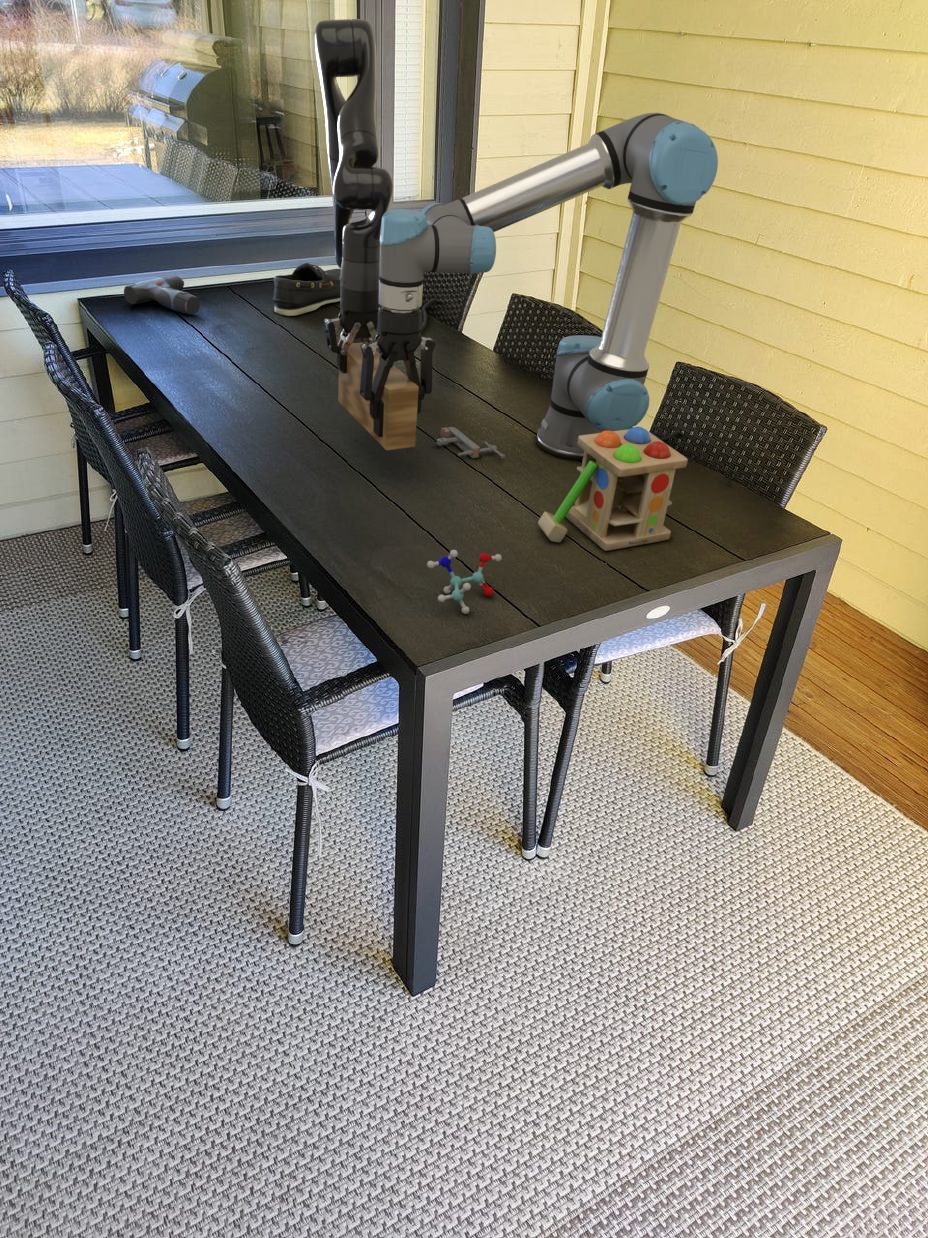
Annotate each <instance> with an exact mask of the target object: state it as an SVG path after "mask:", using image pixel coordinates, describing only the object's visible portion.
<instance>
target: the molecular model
mask: <svg viewBox="0 0 928 1238" xmlns="http://www.w3.org/2000/svg"><path fill="white" fill-rule="evenodd" d="M458 555H459V552H458V550H457V549H452V550H450V551H449V555H448V556H445V555H444V556H442V557H441V558H440V560H438V561H433V560H428V561H427V563H426V567H427V568H428V569H434V568H435V567H436V566H442V568H446V569H447V571H448V573H449V575H450V577H451V578H450V582H449V583H450V584H449V585H448V586H447V585H446V586H444V588H443V593H444V594H445V595H444V594H439V595H438V596H437V601H438V602H439V603H445V602H446V601H447V600H453V601H455V602H458V603H459V605H460V607H461V613H462V614H464V615H468V614H469V613H470V607H469V606H467V605H466V604H465V602H464V600H463V599H464V597H465V596H464V595H465V594H464V593H465V592H466V591H467V592H468V591H470V590H471V588H472V585H471V583H469V582H471V581H473V583H474V584H478V586H479V587H480V588H481V590H482V591H483V595H484V596H485V597H488V598H490V597H492V596H493V595H494V593H495V591H494V588H493V587H492V586H489V585H488V583H487V582H486V581H485V579H484V574H483V573H482V572H483V569H484V566H485V564H486V563H488V562H489V561H495V562H497V563H499V562H501V561H502V559H503V557H502V555H501V554H500V553H495V555H489V554H488V553H487V552H482V553H480V554H479V557H478V559H479V561H480V563H479V566H478V569H477V571H475V572H473V573H472V575H471V576H468V577H464V578H461V577H460V576H458V575H455V572H454V570H453V568H452V567H451V564H452V559H454V558H457V557H458ZM461 586H462V588H461V589H460V587H461ZM453 588H454V589H453ZM452 590H453V591H452ZM451 592H452V593H451ZM450 593H451V594H450Z"/></svg>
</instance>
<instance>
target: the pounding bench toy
mask: <svg viewBox="0 0 928 1238" xmlns="http://www.w3.org/2000/svg"><path fill="white" fill-rule="evenodd" d="M657 437H658V436H657V435H654V434H653V433H652V432H650V431H649V430H648V429H647V428H645V427H643V426H633V427H632V428H630V429H627V430H619V431H609V430H607V431H603V432H601V433H596V434H588V435H581V436H579V437H578V443H577V445H578V446H579V447H580V448H582V449H583V450H584V456H583V460H582V462H581V466H580V465H579V466H578V465H577V466H576V471H577V470H578V471H579V472H580V474H579V477H578V478H577V480H576V481H575V483H574V484H573V486H572V487H571V489H570V490H569V492H568V493H567V495H566V496H565V498H564V499H563V501H562V503H561V504H560V506H559V507H558V509H557V510H556V512H555V514H552V513H550V512H548V511H544V512H543V513H542V515H541V516H540V518H539V519H538V520H537V525H538V526H539V527H540V530H542V532H543V533H544V535H545V536H546V537H547V538H548V540H549V541H551V542H553V543H561V542H562V541H563V539H564V538H565V536H566V535H567V533H568V531H569V530H568V528H567V527H566V526H565V524H564V523H563V521H564V520H565V518H566V519H567V520H568V521H569V522H570V523H572V524H573V525H574V526H575V527H576V528H577V529H579V530H580V531H581V532H582V533H583V534H585V535H586V536H587V537H588V538H589V539H590V540H591V541H593V542H594V543H595V544H596V545H597V546H599V547H600V548H601V549H602V550H603V551H605V552H609V551H614V550H619V549H625V548H629V547H636V546H641V545H647V544H648V545H649V544H652V543H657V542H658V543H659V542H663V541H669V540H670V538H671V534H672V531H671V530H670V529H669V528H667V527H666V526H665V525H664V524H665V519H666V515H667V511H668V507H669V506H671V505H673V501H672V500H670V498H671V497H670V496H671V492H672V487H673V483H674V478H675V475H676V470H677V469H684V468H686V467H687V465H688V462H689V461H688V460H689V459H688V458H687V457H686V456H684V455H683V454H681V453H680V452H678V451H677V450H676V449H674V448H673V447H672V446H670V445H668V444H667V443H666V442H665V441H661V440H660V439H658V438H657Z"/></svg>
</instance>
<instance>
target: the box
mask: <svg viewBox="0 0 928 1238" xmlns="http://www.w3.org/2000/svg"><path fill="white" fill-rule="evenodd" d="M365 343H367V342H365ZM360 345H361V343H352V345H350V346H349V349H348V351H347V353H346V355H347V373H344V374H343V373H342V372H341V371H340V370H339V369H338V390H337V391H338V392H337V394H338V395H337V396H338V397H337V401H338V403H339V404H340V405H341V406H342V407H343V408H344V409H345V410H346V411H347V412H348V413H349V414H350V415H351V416H352V417H353V418H354V419H355V420H356V421H357V422H358V424H360V425H361V427H363V428H364V429H365V430H366V431H367V432H368V433H369V435H371V436H372V437H373V439H374V440H375V441H377V442H378V443H379V444H380V446H381V447H382V448H383V449H384V450H385V451H392V450H399V449H407V448H415V447H416V443H417V442H416V440H417V424H418V423H417V421H418V414H417V407H418V390H419V386H417V385H416V384H415V383H413V382H412V381H411V380H410V379H409V378H408V375H406V374H405V373H403V372H402V371H401V370H400V369H399V368H398V367H396V366H395V365H394V364H393V366H392V368H391V369H390V372H389V375H388V378H387V381H386V384H385V386H384V390H383V393H382V396H381V399H380V400H381V401H382V402H383V403H384V417H383V437H378V436H377V435H376V434H375V433H374V432H373V426H374V419H373V418H372V417H371V416H370V414H369V412H370V401H366V400H365V399H364V398H363V397H362V396H361V395H360V383H361V371H362V358H363V354H362V351H361V347H360ZM379 357H380V353H379V352H378V351H376V354H375V355H374V369H373V380H374V377H375V374H376V371H377V368H378V365H379ZM372 384H373V381H372Z"/></svg>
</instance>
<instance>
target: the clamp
mask: <svg viewBox="0 0 928 1238" xmlns="http://www.w3.org/2000/svg"><path fill="white" fill-rule="evenodd" d="M452 443H453V444H454V445H456V446H457V447H458V448H459V449H460V450H462V451H463V452H458V453H457V456H458V457H460V456H469V457H470V458H472V459H477V458H480V454H482V453H487V452H488V453H496V454H497V455H498V456H499V457H500V459H502V460H504V459H506V457H507V456H506V454H504V453H501V452H500V451H499V450H498V447H497V446H496V445H495V444H494V445H491V444H490V443H489V442H488V441H486V440H485V441H484V442H483V446H484V447H483V448H481V447H480V446H479V444H476V443H475V442H474V441H473V440H471V439H470V438H469V437H468V436H466V435H465V434H464V433H463V432H461V431H460V430H459V429H457V428H456V427H455V426H450V427H441V429H440V437H439V438H436V444H437V445H438V446H439V447H441V446H448V445H449V444H452Z"/></svg>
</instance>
